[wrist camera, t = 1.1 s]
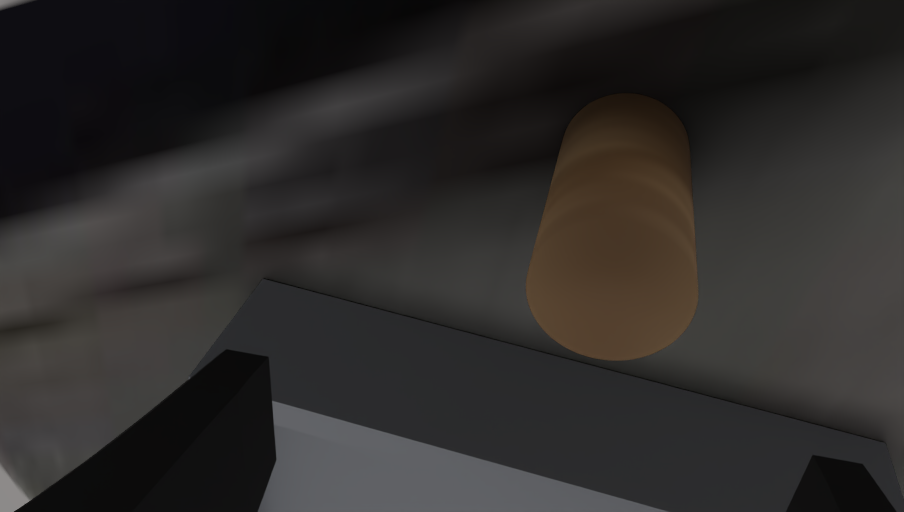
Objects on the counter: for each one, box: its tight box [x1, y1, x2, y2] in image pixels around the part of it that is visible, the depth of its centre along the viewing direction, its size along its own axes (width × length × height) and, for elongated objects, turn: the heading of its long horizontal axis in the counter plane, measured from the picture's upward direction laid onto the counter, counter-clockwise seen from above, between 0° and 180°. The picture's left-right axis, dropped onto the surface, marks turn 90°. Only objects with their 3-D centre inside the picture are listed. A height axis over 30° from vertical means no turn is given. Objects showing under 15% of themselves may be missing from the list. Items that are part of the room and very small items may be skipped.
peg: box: [526, 93, 698, 361], centre depth 17 cm, size 3×3×6 cm
